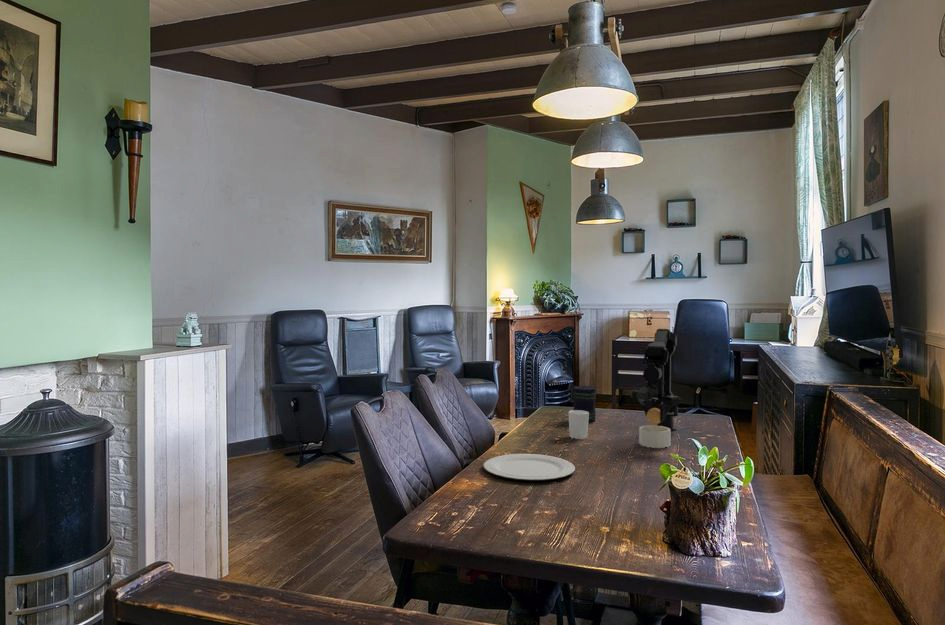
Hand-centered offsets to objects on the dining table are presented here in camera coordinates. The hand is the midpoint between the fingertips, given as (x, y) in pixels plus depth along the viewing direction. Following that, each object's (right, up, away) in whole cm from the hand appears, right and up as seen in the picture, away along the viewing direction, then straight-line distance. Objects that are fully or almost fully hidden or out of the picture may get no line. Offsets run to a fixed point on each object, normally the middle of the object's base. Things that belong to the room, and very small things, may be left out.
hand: (655, 420), depth 234 cm
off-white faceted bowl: (0, -9, 0) cm, 9 cm away
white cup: (-27, -9, +11) cm, 30 cm away
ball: (0, +2, 0) cm, 2 cm away
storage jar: (-19, -8, +42) cm, 47 cm away
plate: (-50, -10, -35) cm, 62 cm away
